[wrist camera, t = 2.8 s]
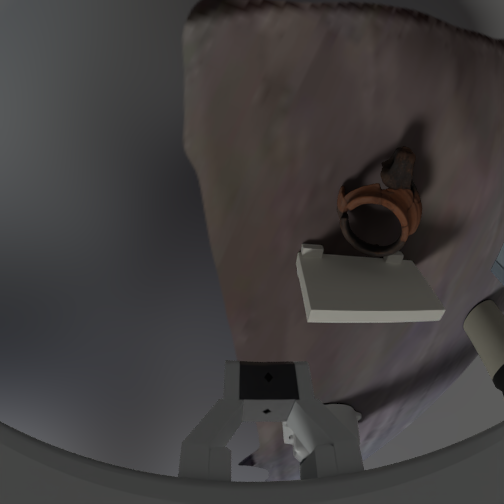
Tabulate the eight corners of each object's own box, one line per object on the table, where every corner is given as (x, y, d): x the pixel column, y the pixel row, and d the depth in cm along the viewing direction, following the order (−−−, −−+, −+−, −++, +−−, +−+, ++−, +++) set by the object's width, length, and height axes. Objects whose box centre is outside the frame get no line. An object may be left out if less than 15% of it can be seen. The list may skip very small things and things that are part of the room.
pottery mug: (408, 228, 34) (402, 274, 29) (341, 205, 37) (322, 246, 32) (438, 145, 25) (445, 180, 20) (356, 118, 28) (340, 145, 23)
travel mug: (458, 334, 44) (495, 408, 29) (468, 305, 40) (516, 382, 25) (486, 323, 43) (525, 390, 28) (498, 294, 39) (546, 363, 24)
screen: (405, 277, 37) (435, 328, 28) (294, 271, 36) (305, 330, 28) (414, 252, 35) (450, 301, 26) (299, 243, 34) (313, 299, 26)
